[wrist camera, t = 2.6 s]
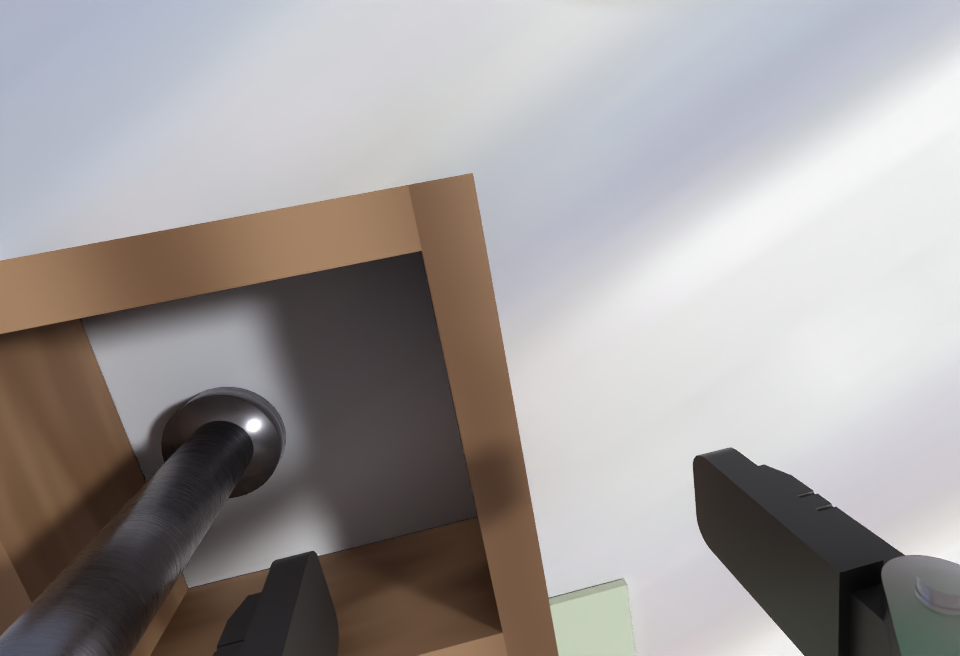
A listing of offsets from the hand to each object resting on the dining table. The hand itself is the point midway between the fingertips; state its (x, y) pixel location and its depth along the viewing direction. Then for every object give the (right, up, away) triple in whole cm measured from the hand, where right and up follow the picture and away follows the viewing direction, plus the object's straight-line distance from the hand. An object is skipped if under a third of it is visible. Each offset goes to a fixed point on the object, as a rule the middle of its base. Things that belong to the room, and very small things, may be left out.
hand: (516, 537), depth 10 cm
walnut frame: (-8, +1, +9) cm, 12 cm away
